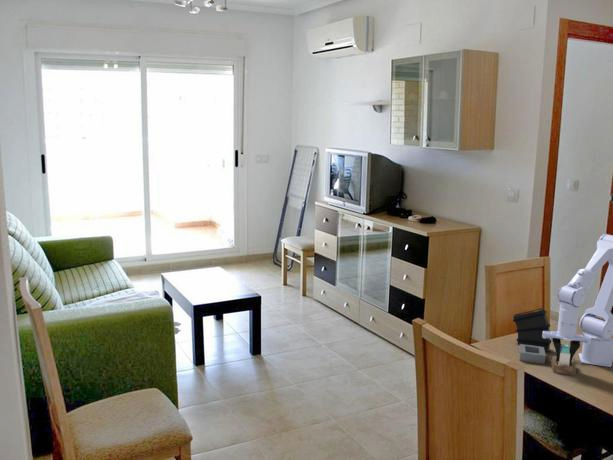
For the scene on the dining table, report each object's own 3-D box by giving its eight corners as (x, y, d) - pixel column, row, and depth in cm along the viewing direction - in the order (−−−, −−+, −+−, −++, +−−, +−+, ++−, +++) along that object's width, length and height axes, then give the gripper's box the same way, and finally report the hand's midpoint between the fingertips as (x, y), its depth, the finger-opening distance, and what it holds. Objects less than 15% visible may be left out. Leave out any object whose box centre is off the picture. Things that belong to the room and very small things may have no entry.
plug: (567, 367, 193) (569, 344, 192) (568, 372, 190) (570, 349, 188) (557, 365, 194) (559, 343, 193) (558, 370, 190) (560, 348, 189)
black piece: (557, 350, 203) (541, 310, 204) (521, 356, 211) (506, 318, 212) (559, 346, 206) (544, 307, 207) (524, 353, 214) (510, 315, 215)
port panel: (543, 355, 203) (543, 347, 202) (544, 364, 195) (545, 355, 195) (519, 351, 205) (519, 344, 205) (519, 360, 198) (520, 352, 197)
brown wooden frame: (572, 365, 194) (573, 358, 194) (574, 375, 187) (575, 368, 187) (551, 362, 196) (551, 356, 196) (553, 372, 189) (553, 365, 189)
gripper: (545, 323, 187) (541, 362, 190) (594, 329, 183) (589, 368, 185) (543, 316, 194) (539, 354, 196) (590, 321, 189) (586, 360, 192)
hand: (563, 360), depth 191 cm, fingers closed on plug, 3 cm apart
